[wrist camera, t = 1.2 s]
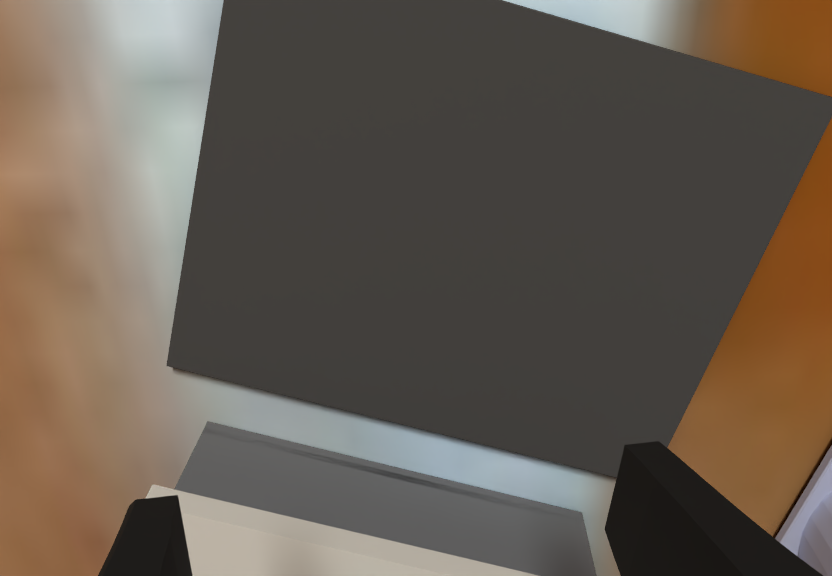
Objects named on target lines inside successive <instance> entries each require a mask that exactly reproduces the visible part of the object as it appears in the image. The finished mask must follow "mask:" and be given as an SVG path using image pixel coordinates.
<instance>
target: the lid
mask: <svg viewBox="0 0 832 576" xmlns="http://www.w3.org/2000/svg"><path fill="white" fill-rule="evenodd" d="M173 495H178V498H179V504H180V509H181V515H182V520H183V526H184V531H185V537H186V542H187V548H188V554H189V559H190V565H191V570H192V576H539V575H534V574H530V573H526V572H522V571H518V570H513V569H509V568H505V567H501V566H496V565H492V564H488V563H484V562H479V561H475V560H471V559H467V558H462V557H458V556H454V555H450V554H446V553H441V552H437V551H433V550H429V549H424V548H420V547H416V546H412V545H407V544H403V543H399V542H395V541H390V540H386V539H382V538H378V537H374V536H369V535H365V534H361V533H357V532H352V531H348V530H344V529H340V528H335V527H331V526H327V525H323V524H318V523H314V522H310V521H306V520H302V519H297V518H293V517H289V516H285V515H280V514H276V513H272V512H268V511H263V510H259V509H255V508H251V507H246V506H242V505H238V504H234V503H230V502H225V501H221V500H217V499H213V498H208V497H204V496H200V495H196V494H191V493H187V492H183V491H179V490H174V489H170V488H166V487H162V486H158V485H152V487H151V489H150V490H149V492H148V494H147V496H146V498H155V497H164V496H173ZM146 498H145V499H146Z"/></svg>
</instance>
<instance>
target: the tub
mask: <svg viewBox="0 0 832 576" xmlns="http://www.w3.org/2000/svg"><path fill="white" fill-rule="evenodd" d="M174 490H179V491H183V492H187V493H191V494H196V495H200V496H204V497H208V498H213V499H217V500H221V501H225V502H230V503H234V504H238V505H242V506H246V507H251V508H255V509H259V510H263V511H268V512H272V513H276V514H280V515H285V516H289V517H293V518H297V519H302V520H306V521H310V522H314V523H318V524H323V525H327V526H331V527H335V528H340V529H344V530H348V531H352V532H357V533H361V534H365V535H369V536H374V537H378V538H382V539H386V540H390V541H395V542H399V543H403V544H407V545H412V546H416V547H420V548H424V549H429V550H433V551H437V552H441V553H446V554H450V555H454V556H458V557H462V558H467V559H471V560H475V561H479V562H484V563H488V564H492V565H496V566H501V567H505V568H509V569H513V570H518V571H522V572H526V573H530V574H534V575H539V576H596V572H595V567H594V563H593V559H592V554H591V550H590V546H589V541H588V537H587V533H586V528H585V524H584V520H583V515H582V513H581V512H577V511H573V510H569V509H565V508H561V507H557V506H553V505H548V504H544V503H540V502H536V501H532V500H528V499H524V498H520V497H516V496H511V495H507V494H503V493H499V492H495V491H491V490H487V489H483V488H479V487H475V486H470V485H466V484H462V483H458V482H454V481H450V480H446V479H442V478H438V477H433V476H429V475H425V474H421V473H417V472H413V471H409V470H405V469H401V468H397V467H392V466H388V465H384V464H380V463H376V462H372V461H368V460H364V459H360V458H355V457H351V456H347V455H343V454H339V453H335V452H331V451H327V450H323V449H319V448H314V447H310V446H306V445H302V444H298V443H294V442H290V441H286V440H282V439H278V438H273V437H269V436H265V435H261V434H257V433H253V432H249V431H245V430H241V429H236V428H232V427H228V426H224V425H220V424H216V423H212V422H207V424H206V426H205V428H204V430H203V432H202V434H201V436H200V438H199V440H198V442H197V444H196V446H195V448H194V450H193V452H192V454H191V456H190V458H189V461H188V463H187V465H186V467H185V469H184V471H183V473H182V475H181V477H180V479H179V481H178V483H177V485H176V487H175V489H174Z"/></svg>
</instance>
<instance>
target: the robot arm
mask: <svg viewBox="0 0 832 576" xmlns="http://www.w3.org/2000/svg"><path fill="white" fill-rule="evenodd" d="M605 531H606V534H607V537H608V540H609V543H610V546H611V549H612V552H613V555H614V558H615V561H616V564H617V566H618V569H619V572H620V575H621V576H832V445H831V447H830V449H829V450H828V452H827V454H826V455H825V457H824V459H823V460H822V462H821V464H820V465H819V467H818V468H817V470H816V472H815V473H814V475H813V477H812V478H811V480H810V482H809V483H808V485H807V487H806V488H805V490H804V492H803V493H802V495H801V497H800V498H799V500H798V501H797V503H796V505H795V506H794V508H793V510H792V511H791V513H790V515H789V516H788V518H787V520H786V521H785V523H784V525H783V526H782V528H781V530H780V531H779V533H778V535H777V536H776V538H773V537H772V536H771V535H770V534H768V533H767V532H766V531H765V530H763V529H762V528H761V527H760V526H758V525H757V524H756V523H755V522H754V521H752V520H751V519H750V518H749V517H747V516H746V515H745V514H744V513H743V512H741V511H740V510H739V509H738V508H737V507H736V506H734V505H733V504H732V503H731V502H730V501H728V500H727V499H726V498H725V497H724V496H723V495H721V494H720V493H719V492H718V491H717V490H716V489H714V488H713V487H712V486H711V485H710V484H708V483H707V482H706V481H705V480H704V479H703V478H702V477H700V476H699V475H698V474H697V473H696V472H695V471H693V470H692V469H691V468H690V467H689V466H688V465H686V464H685V463H684V462H683V461H682V460H681V459H680V458H678V457H677V456H676V455H675V454H674V453H672V452H671V451H670V450H669V449H668V448H666V447H665V446H664V445H663V444H662V443H660V442H659V441H655V442H646V443H637V444H628V445H625V446H624V450H623V454H622V458H621V463H620V467H619V471H618V475H617V479H616V484H615V488H614V492H613V496H612V501H611V505H610V509H609V513H608V517H607V522H606V526H605ZM98 576H192V570H191V565H190V559H189V554H188V548H187V542H186V537H185V531H184V526H183V520H182V515H181V509H180V504H179V498H178V495H173V496H164V497H155V498H146V499H137V500H135V501H134V502H133V503H132V504H131V505H130V506H129V508H128V510H127V513H126V515H125V518H124V520H123V523H122V525H121V528H120V530H119V532H118V534H117V537H116V539H115V541H114V543H113V546H112V548H111V550H110V552H109V554H108V556H107V558H106V560H105V563H104V565H103V567H102V569H101V571H100V573H99V575H98Z"/></svg>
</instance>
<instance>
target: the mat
mask: <svg viewBox="0 0 832 576" xmlns="http://www.w3.org/2000/svg"><path fill="white" fill-rule="evenodd" d="M831 117H832V97H830V96H826V95H823V94H819V93H816V92H813V91H809V90H806V89H802V88H799V87H796V86H792V85H789V84H785V83H782V82H779V81H775V80H772V79H768V78H765V77H762V76H758V75H755V74H751V73H748V72H745V71H741V70H738V69H734V68H731V67H727V66H724V65H721V64H717V63H714V62H710V61H707V60H704V59H700V58H697V57H693V56H690V55H687V54H683V53H680V52H676V51H673V50H670V49H666V48H663V47H659V46H656V45H653V44H649V43H646V42H642V41H639V40H636V39H632V38H629V37H625V36H622V35H619V34H615V33H612V32H608V31H605V30H602V29H598V28H595V27H591V26H588V25H585V24H581V23H578V22H574V21H571V20H568V19H564V18H561V17H557V16H554V15H550V14H547V13H544V12H540V11H537V10H533V9H530V8H527V7H523V6H520V5H516V4H513V3H510V2H506V1H503V0H224V3H223V9H222V15H221V22H220V28H219V35H218V41H217V47H216V54H215V60H214V67H213V73H212V79H211V86H210V92H209V98H208V105H207V111H206V118H205V124H204V130H203V137H202V143H201V149H200V156H199V162H198V169H197V175H196V181H195V188H194V194H193V200H192V207H191V213H190V220H189V226H188V232H187V239H186V245H185V252H184V258H183V264H182V271H181V277H180V283H179V290H178V296H177V303H176V309H175V315H174V322H173V328H172V334H171V341H170V347H169V354H168V360H167V366H169V367H173V368H177V369H181V370H185V371H189V372H193V373H197V374H201V375H205V376H209V377H213V378H217V379H222V380H226V381H230V382H234V383H238V384H242V385H246V386H250V387H254V388H258V389H262V390H266V391H270V392H274V393H278V394H282V395H286V396H290V397H294V398H298V399H302V400H306V401H310V402H314V403H318V404H322V405H326V406H330V407H334V408H338V409H342V410H346V411H351V412H355V413H359V414H363V415H367V416H371V417H375V418H379V419H383V420H387V421H391V422H395V423H399V424H403V425H407V426H411V427H415V428H419V429H423V430H427V431H431V432H435V433H439V434H443V435H447V436H451V437H455V438H459V439H463V440H467V441H471V442H475V443H479V444H484V445H488V446H492V447H496V448H500V449H504V450H508V451H512V452H516V453H520V454H524V455H528V456H532V457H536V458H540V459H544V460H548V461H552V462H556V463H560V464H564V465H568V466H572V467H576V468H580V469H584V470H588V471H592V472H596V473H600V474H604V475H608V476H612V477H617V475H618V471H619V467H620V463H621V458H622V454H623V450H624V446H625V445H628V444H637V443H646V442H655V441H659V442H660V443H662V444H663V445H664V446H665V447H666V448H667V447H668V445H669V443H670V441H671V439H672V437H673V435H674V433H675V431H676V429H677V427H678V425H679V423H680V421H681V419H682V417H683V415H684V413H685V411H686V409H687V407H688V405H689V403H690V401H691V399H692V397H693V395H694V393H695V391H696V389H697V387H698V385H699V383H700V381H701V379H702V377H703V375H704V373H705V370H706V368H707V366H708V364H709V362H710V360H711V358H712V356H713V354H714V352H715V350H716V348H717V346H718V344H719V342H720V340H721V338H722V336H723V334H724V332H725V330H726V328H727V326H728V324H729V322H730V320H731V318H732V316H733V314H734V312H735V310H736V308H737V306H738V304H739V302H740V300H741V298H742V296H743V294H744V292H745V290H746V288H747V286H748V284H749V282H750V280H751V278H752V276H753V274H754V272H755V270H756V268H757V266H758V264H759V262H760V260H761V258H762V256H763V254H764V252H765V250H766V248H767V246H768V244H769V242H770V240H771V238H772V236H773V234H774V232H775V230H776V228H777V226H778V224H779V222H780V220H781V218H782V216H783V214H784V212H785V210H786V208H787V206H788V204H789V202H790V200H791V198H792V196H793V194H794V192H795V190H796V188H797V186H798V184H799V182H800V180H801V178H802V176H803V174H804V171H805V169H806V167H807V165H808V163H809V161H810V159H811V157H812V155H813V153H814V151H815V149H816V147H817V145H818V143H819V141H820V139H821V137H822V135H823V133H824V131H825V129H826V127H827V125H828V123H829V121H830V119H831Z"/></svg>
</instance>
